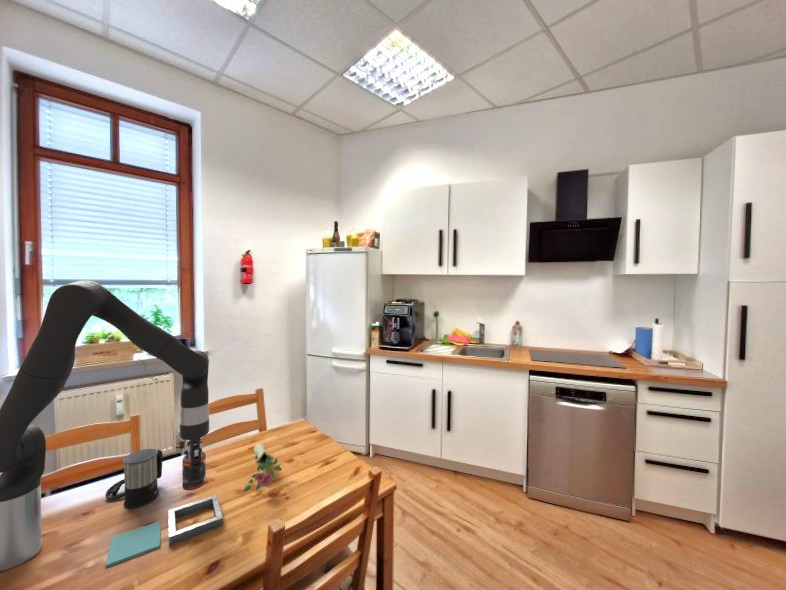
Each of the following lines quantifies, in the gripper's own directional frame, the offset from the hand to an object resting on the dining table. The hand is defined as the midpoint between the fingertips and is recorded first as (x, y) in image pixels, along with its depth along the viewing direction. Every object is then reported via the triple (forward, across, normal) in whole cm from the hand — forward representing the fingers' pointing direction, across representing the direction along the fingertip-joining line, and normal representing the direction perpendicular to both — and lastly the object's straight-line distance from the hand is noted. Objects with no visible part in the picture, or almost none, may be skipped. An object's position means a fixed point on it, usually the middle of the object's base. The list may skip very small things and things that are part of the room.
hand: (194, 474), depth 96 cm
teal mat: (+14, 0, +14) cm, 20 cm away
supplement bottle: (+3, 0, 0) cm, 3 cm away
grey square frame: (+14, 0, 0) cm, 14 cm away
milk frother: (+15, +25, +16) cm, 33 cm away
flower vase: (+14, +13, -23) cm, 30 cm away
